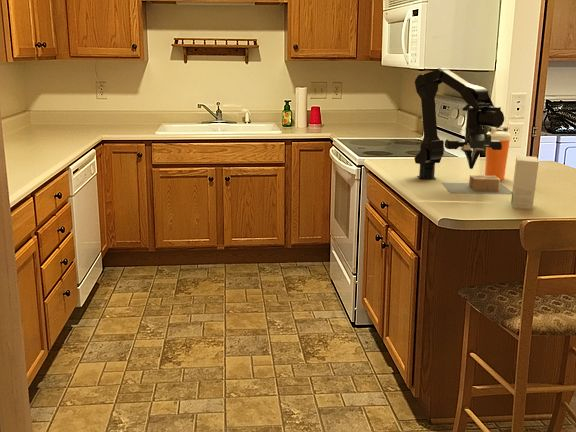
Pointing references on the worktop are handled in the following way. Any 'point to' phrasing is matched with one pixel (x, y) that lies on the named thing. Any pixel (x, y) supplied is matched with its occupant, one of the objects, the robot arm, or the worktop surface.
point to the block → (484, 183)
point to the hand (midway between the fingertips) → (471, 168)
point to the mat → (465, 189)
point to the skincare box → (524, 182)
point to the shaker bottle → (497, 153)
